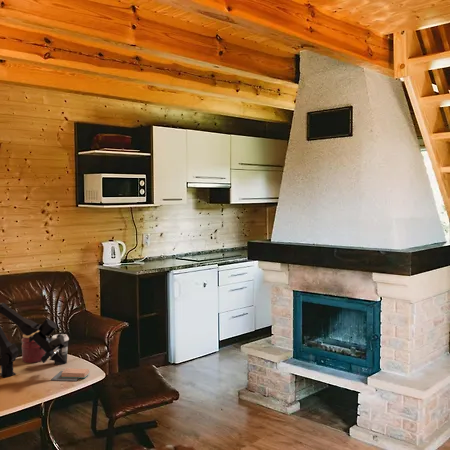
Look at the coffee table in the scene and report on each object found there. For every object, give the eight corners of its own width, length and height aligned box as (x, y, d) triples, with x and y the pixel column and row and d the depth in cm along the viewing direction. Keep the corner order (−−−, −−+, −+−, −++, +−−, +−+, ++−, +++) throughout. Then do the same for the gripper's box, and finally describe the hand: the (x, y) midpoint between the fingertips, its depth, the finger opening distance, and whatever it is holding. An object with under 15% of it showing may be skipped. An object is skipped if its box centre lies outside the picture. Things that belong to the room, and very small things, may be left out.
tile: (61, 372, 270) (84, 373, 268) (66, 368, 276) (89, 368, 275) (61, 377, 270) (84, 378, 269) (66, 373, 276) (89, 373, 275)
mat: (51, 380, 268) (51, 379, 268) (60, 371, 280) (60, 370, 279) (76, 381, 266) (76, 380, 266) (85, 372, 278) (84, 371, 278)
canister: (50, 359, 300) (49, 328, 298) (27, 365, 291) (26, 333, 289) (40, 354, 309) (39, 323, 308) (18, 359, 300) (17, 328, 299)
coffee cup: (56, 367, 287) (54, 339, 286) (48, 362, 294) (47, 336, 293) (72, 363, 293) (71, 336, 292) (65, 358, 300) (64, 332, 299)
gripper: (45, 336, 262) (68, 358, 262) (61, 325, 281) (82, 346, 281) (31, 351, 264) (53, 374, 264) (47, 340, 282) (68, 361, 282)
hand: (65, 363), depth 272 cm, fingers closed
